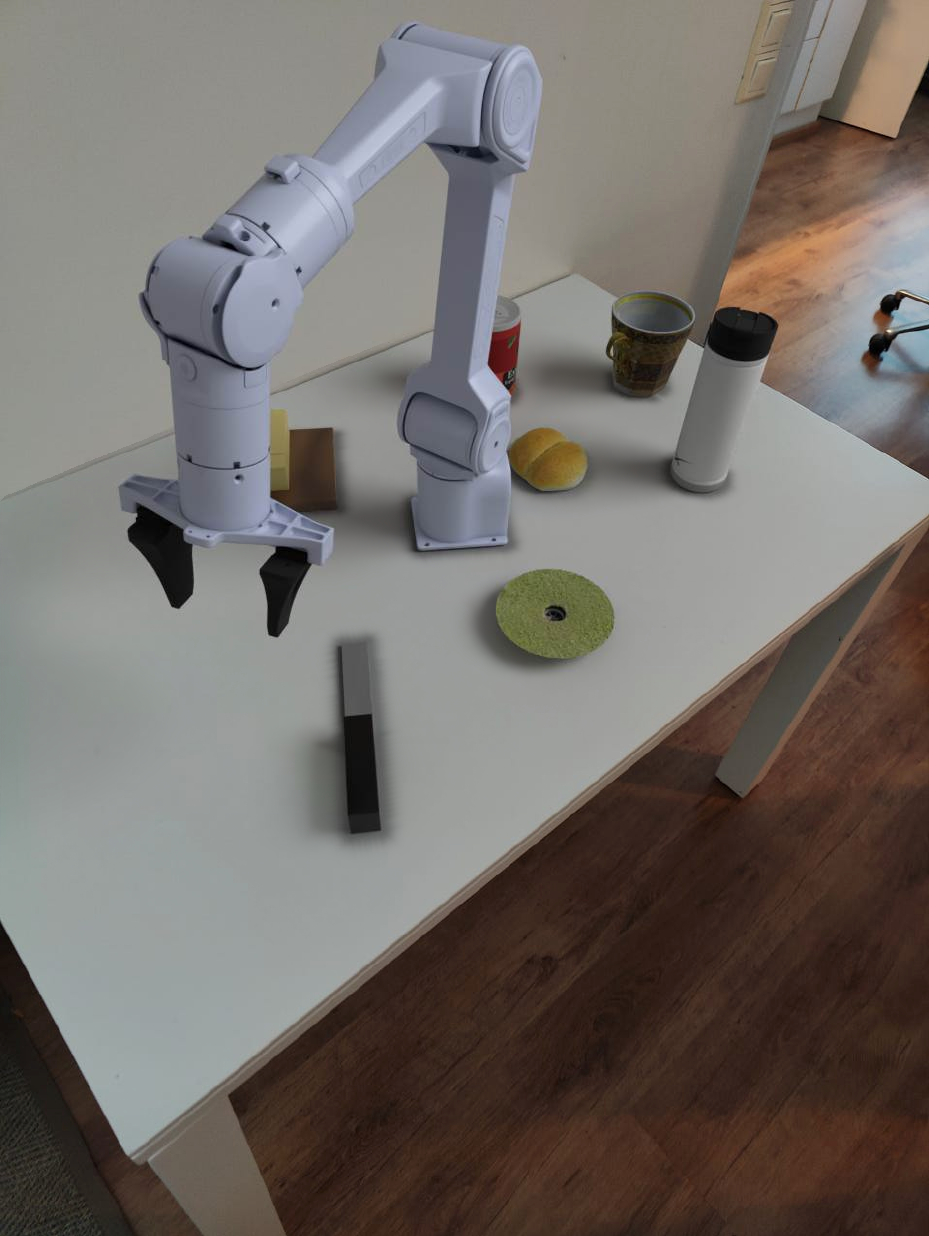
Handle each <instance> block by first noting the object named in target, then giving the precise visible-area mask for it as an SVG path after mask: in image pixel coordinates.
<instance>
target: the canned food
mask: <svg viewBox="0 0 929 1236" xmlns="http://www.w3.org/2000/svg"><path fill="white" fill-rule="evenodd" d="M521 328H522V309H521V307H520V305H519V304H518V303H517V302H515V301H514V300H513V299H511V298H509V297H505V296H502V295H499V294H498V296H497V303H496V309H495V316H494V323H493V330H492V337H491V343H490V350H489V357H488V366H489V368H490V369H491V370H492V372H493V373H494V374H495V375H496V377H497V378H498V379H499V380H500V382H501V383H502V384H503V385H504V387H505V388H506V389H507V390H508V392H509V393H510V395H511V397H512V396H513V394H514V391H515V388H516V379H517V369H518V359H519V351H520V350H519V349H520V340H521V339H520V338H521Z"/></svg>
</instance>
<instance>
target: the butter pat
mask: <svg viewBox="0 0 929 1236" xmlns="http://www.w3.org/2000/svg"><path fill="white" fill-rule="evenodd" d="M279 490H289V473H288V467H287V461H286V455H285V454H278V455H270V491H279Z"/></svg>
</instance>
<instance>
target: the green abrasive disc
mask: <svg viewBox="0 0 929 1236" xmlns="http://www.w3.org/2000/svg"><path fill="white" fill-rule="evenodd" d="M495 617H496V620H497V622H498V623H497V624H498V625H499V628H500V629H501V631H502V632H503V634H505V637H507V638H508V639H509V641H511V642H512V643H513V644H515V645H516V646H517V647H519V648H521V649H522V650H525V651H527V652H528V653H530V654H532V655H536V656H541V657H546V658H550V659H572V658H577V657H582V656H586V655H588V654H590V653H593V652H594V651H595V650H597V649H598V648H599V647H601V646H602V645H603V644H604V643H605V642H607V640H608V639H609V637H610V636H611V633H612V632H613V630H614V626H615V617H616V616H615V609H614V607H613V604H612V602H611V600H610V599H609V597H608V596H607V594H606V592H605V591H604V590H603V589H602V588H601V587H600V586H599V585H597V584H596V583H595V582H594V581H592V580H590V579H589V578H586V577H585V576H583V575H581V574H580V575H579V574H578V573H575V572H573V571H567V570H563V569H557V568H556V569H555V568H542V569H536V570H531V571H528V572H524V573H521V574H520V575H518V576H517V577H515V578H512V579H511V580H510V581H509V582H508V583H507V584H505V586H504V587H503V588H502V590H501V591H500V592H499V594H498V596H497V600H496V603H495Z"/></svg>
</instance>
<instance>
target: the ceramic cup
mask: <svg viewBox="0 0 929 1236" xmlns="http://www.w3.org/2000/svg"><path fill="white" fill-rule="evenodd" d="M610 321H611V336H610V337H609V339H608V341H607V345H606V347H605V355H606V357H607V359H609V360H611V361H612V379H613V385H614V389H616V390H617V391H619V392H621V393H622V394H624V395H626V396H628V397H631V398H652V397H653V396H655V395H657V394H658V393H660V392H662V391H663V390H664V389H665V388H666V386H667V383H668V382H669V379H670V377H671V375H672V372H673V371H674V368H675V366H676V364H677V362H678V360H679V357H680V355H681V353H682V351H683V349H684V347H685V345H686V343H687V342H688V339H689V337H690V335H691V333H692V330H693V326H694V324H695V323H696V312H695V310H694V308H693V307H692V306H691V305H690V303H688V302H687V301H685V300H684V299H681V298H679V297H678V296H675V295H672V294H671V293H670V294H669V293H666V292H661V291H656V290H655V291H654V290H637V291H631V292H628V293H625V294H622V295H620V296H618V297H617V298H616V299H615V300H614V301H613V303H612V305H611V320H610ZM611 351H612V353H611Z"/></svg>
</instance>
